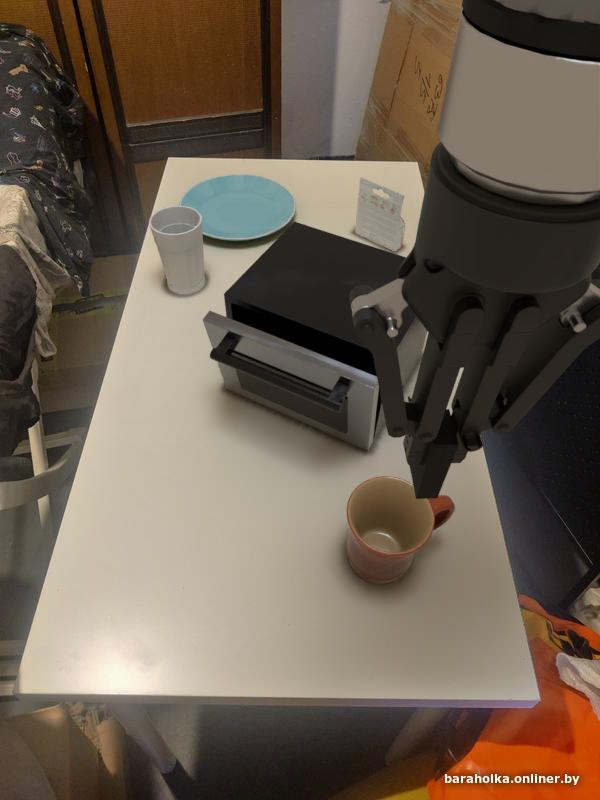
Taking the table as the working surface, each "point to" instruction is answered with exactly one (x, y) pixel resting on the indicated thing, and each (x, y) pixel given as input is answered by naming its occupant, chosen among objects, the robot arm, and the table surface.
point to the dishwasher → (321, 298)
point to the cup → (180, 247)
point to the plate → (240, 206)
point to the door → (295, 380)
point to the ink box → (380, 216)
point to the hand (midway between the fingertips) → (423, 481)
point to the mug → (390, 527)
